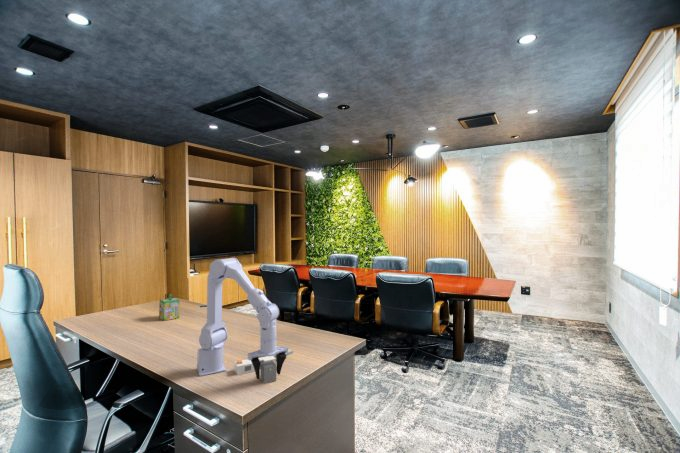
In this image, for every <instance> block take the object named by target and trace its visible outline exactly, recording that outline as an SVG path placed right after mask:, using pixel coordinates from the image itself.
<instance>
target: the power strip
mask: <svg viewBox="0 0 680 453" xmlns="http://www.w3.org/2000/svg"><path fill="white" fill-rule="evenodd" d="M258 359H259V361H260V363H262V362H267V361H273V362H274V363H275V364H276V365H277V360H276V357H274V356H266V357H261V358H258ZM233 364H234V365H233V366H234V369H233V370H234V372H235V374H236V375H237V376H239V375H244V374H248V373H253V372H255V369H254V366H253V364H252V362H251V360H250V361H249V360H248V358H247V359H243V360H242V359H239V360H236V361H234V363H233Z"/></svg>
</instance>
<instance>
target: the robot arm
mask: <svg viewBox="0 0 680 453" xmlns="http://www.w3.org/2000/svg"><path fill="white" fill-rule="evenodd" d="M226 279H232V280H235V282H236V283H237V284H238V285H239V287H241V289H242V290H243V291H244V292H245V293H246V294H247V295H246V300H247V301H248V302H249V304H250V306H252V307H253V309H254V310H255V311H256V313H257V314H256V318H257V320H258V322H259V326H260V331H259V332H260V333H259V334H260V335H259V336H260V344H259V345H260V346H259V347H260V349H258V350H255V351H252V352H249V353H247V359H248V360H249V361H250V360H251V362H252V364H253V366H254V369H255V371H254V372H255V378H256V379H257V380H260V379H261V378H260V361H259V359H258V358H261V357H266V356H274V355H276V357H275V358H276V360H277V361H276V375H278V376H279V375H281V373H282V368H283V365H284V362H285V360H286V359H287V356H286V354H285V353H288V350H289V347H288V346H278V347H276V346H277V318H278V317H279V316H280V308H279V307H278V305H277V304H276V303H272V302H271V301H270V300H269V299H268V298H267V296H266V295H265V293H264V291H263V290H261V289H260V288H255V286H254V285H253V283H252V282H251V280H250V279H249V277H248V275H246V273H245V271H244V269H243V265H242V264H241V262H239V259H238V258H236V257H230V258H222V259H221V258H220V259H219V258H218V259H215V260H213V261H212V262H211V263H210V264H209V272H208V274H207V280H206V281H207V283H206V284H207V286H206V288H207V289H206V291H207V292H206V294H207V295H206V297H207V298H206V323H205V324H204V325H203V326H202V327H201V329H200V335H199V338H198V342H199V346H200V348H198V349H197V354H196V355H197V364H196V369H197V371H198V375H199V377H202V376H207V375H210V374H216V373H220V372H225V371H227V369H226V367H225V365H224V345H225V341H226V340H227V339H228V337H229V336H228V330H227V327H226V326H227V324H226V323H225V322H223V281H225V280H226Z"/></svg>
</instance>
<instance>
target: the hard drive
mask: <svg viewBox="0 0 680 453" xmlns="http://www.w3.org/2000/svg"><path fill="white" fill-rule="evenodd" d="M276 347H279V346H277V345H276ZM285 354H286V357H287V356H290V355H292V354H294V351H293V350H291V349H288V353H285ZM274 357H275V358H276V355H274Z"/></svg>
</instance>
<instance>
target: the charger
mask: <svg viewBox="0 0 680 453" xmlns="http://www.w3.org/2000/svg"><path fill="white" fill-rule="evenodd" d="M276 367H277V363H276V364H275V363H274V362H273V361H267V362H262V363H260V379H261V381H262V382H263V384H267V383H271V382H275V381H277V371H276Z"/></svg>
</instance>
